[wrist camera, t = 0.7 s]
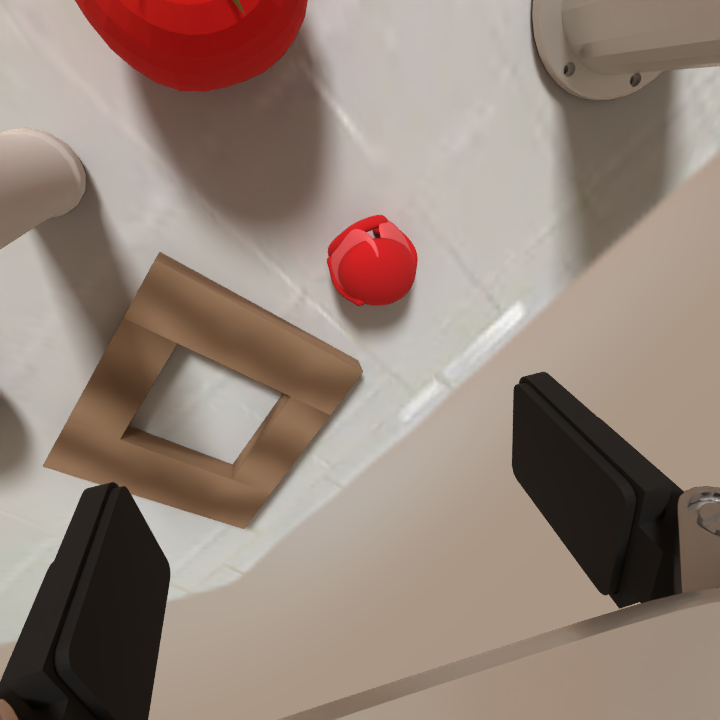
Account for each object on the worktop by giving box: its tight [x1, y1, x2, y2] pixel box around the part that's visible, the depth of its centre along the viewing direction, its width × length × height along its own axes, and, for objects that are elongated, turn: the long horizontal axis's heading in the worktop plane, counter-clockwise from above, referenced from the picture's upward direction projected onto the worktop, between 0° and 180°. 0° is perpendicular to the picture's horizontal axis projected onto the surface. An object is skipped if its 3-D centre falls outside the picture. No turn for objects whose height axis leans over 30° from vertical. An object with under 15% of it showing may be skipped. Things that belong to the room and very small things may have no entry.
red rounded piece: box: [327, 215, 417, 306], centre depth 35 cm, size 8×6×6 cm
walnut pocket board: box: [43, 252, 363, 529], centre depth 39 cm, size 20×18×2 cm
